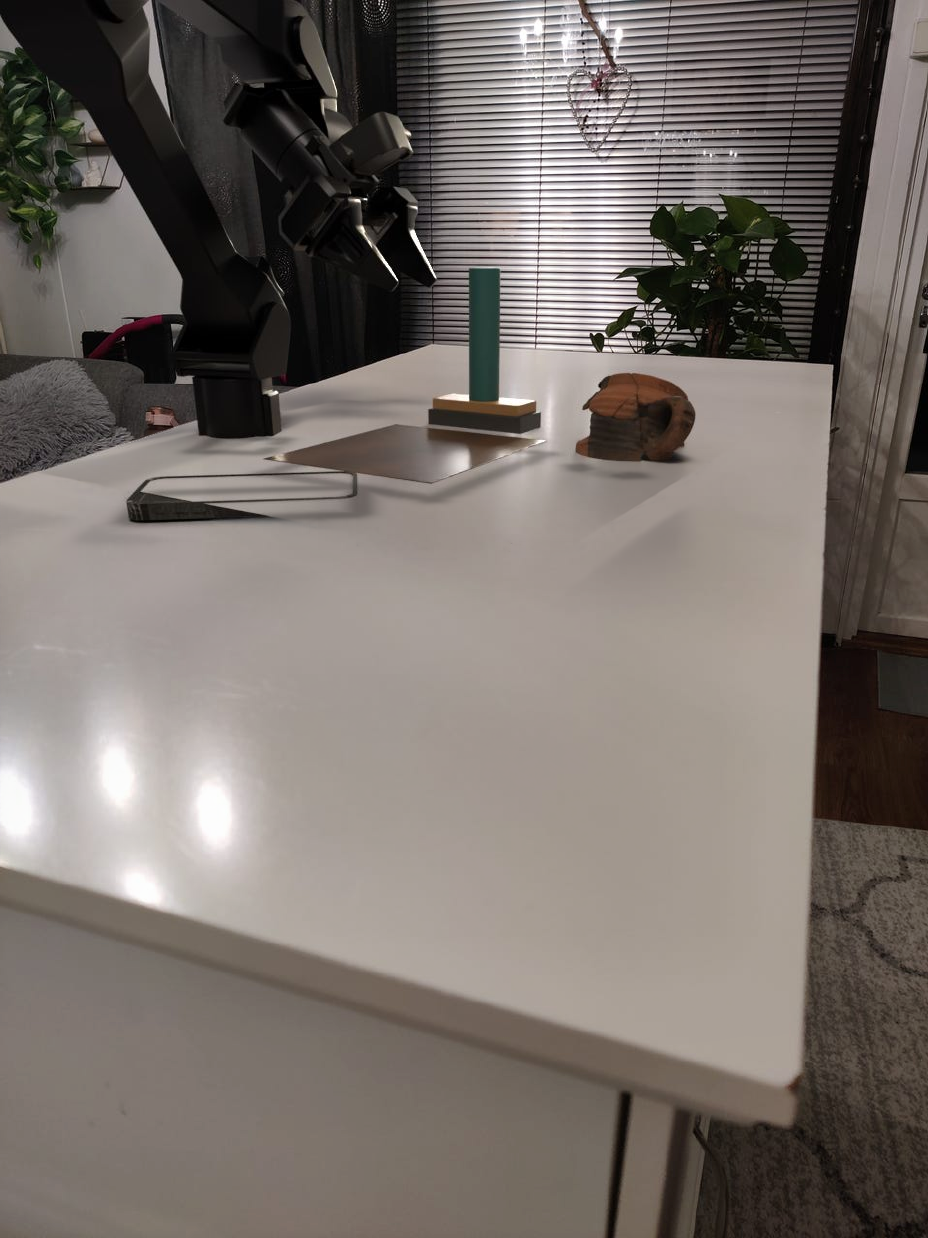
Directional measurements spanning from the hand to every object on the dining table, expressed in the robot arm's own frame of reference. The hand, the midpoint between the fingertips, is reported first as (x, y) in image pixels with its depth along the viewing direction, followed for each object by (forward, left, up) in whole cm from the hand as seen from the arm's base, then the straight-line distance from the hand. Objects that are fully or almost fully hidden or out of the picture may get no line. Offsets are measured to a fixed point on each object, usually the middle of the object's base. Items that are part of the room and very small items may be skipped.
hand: (415, 285), depth 81 cm
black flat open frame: (-7, -28, -13) cm, 32 cm away
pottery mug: (+20, -13, -14) cm, 28 cm away
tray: (+2, -14, -13) cm, 20 cm away
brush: (+7, -2, -12) cm, 14 cm away
